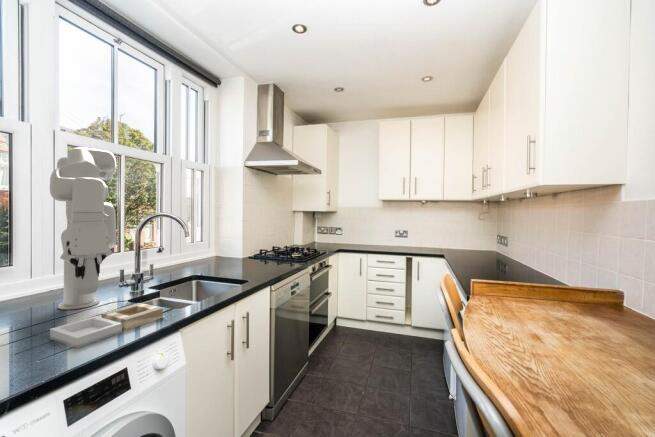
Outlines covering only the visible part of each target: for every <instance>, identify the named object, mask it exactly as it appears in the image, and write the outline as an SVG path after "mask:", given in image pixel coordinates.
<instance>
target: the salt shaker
mask: <svg viewBox="0 0 655 437" xmlns="http://www.w3.org/2000/svg"><path fill="white" fill-rule="evenodd" d="M96 257H97V254H94V253H90V254H89V255H86V256H84V260H83V266H85V275H84V278H83V279H82V277H81V276H80V277H77V280H76V284H75V289H76V290H77V292H78V294H91V293H94V292H95V293H96V292H97V291H98V289H99V286H100V279H99V277H98V274H97V270H96V264H95V259H94V258H96Z"/></svg>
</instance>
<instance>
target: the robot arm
mask: <svg viewBox="0 0 655 437" xmlns="http://www.w3.org/2000/svg"><path fill="white" fill-rule="evenodd" d="M56 167H57V168H55V169H54V170H53V171H52V172H51V175H50V177H49V178H50V179H49V192H50V193H49V194H50V196H51V197H52V198H53V199H54V200H55V201H58V202H65V217H66V220H67V226H66V228H65V229H63V231H62V232H61V235H60V241H61V247H62V251H63V252H62V254H61V255H60V257H59V258H60V260H63V294H62V298H63V301H61V302H60V303H59V304H58V305H57V308H58V309H60V310H67V311H68V310H69V311H70V310H77V309H79V310H80V309H85V308H88V307H92V306H95V305H97V304H99V303H100V298H98V297H95V294H96V292H94V293H91V294H78V292H77V290H76V289H75V284H76V280H77V277H80V276H81V277H82V279H83V278H84V275H85V266H83V260H84V256H86V255H89V254H90V253H94V254H97V257H96V258H94V259H95V264H96V270H97V274H98V278H99V277H100V276H99V275H100V273H101V264H102V263H103V261H104V260H105V259H106V258H107V257H110V256H111V255H112V254H113V251H112V249H113V248H115V246H116V245H117V239H118V238H117V219H116V218H117V217H116V216H117V215H116V209H115V206H114V205H113V204H112V203H110V202H105V201H106V199H108V197H109V192H110V191H109V187H108V185H107V184H106V182H104V181H109V180H111V179H112V178H113V175H114V173H115V171H116V168H117V160H116V157H115V155H114V154H113V153H112V152H110V151H108V150H104V149H103V150H102V149H96V148H90V147H89V148H88V147H73V148H72V149H70V150H69V151H68V152H67V156H64V157H60V158H59V159H58V160H57V163H56Z"/></svg>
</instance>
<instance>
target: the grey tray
mask: <svg viewBox="0 0 655 437" xmlns="http://www.w3.org/2000/svg"><path fill="white" fill-rule="evenodd" d="M122 333H123V330H122V323H119V322H116V321H112V320H108V319H105V318H102V316H97V315H95V316H91V317H87V318H84V319H80V320H77V321H73V322H70V323H67V324H62V325H59V326H56V327H53V328H50V329H49V339H50V340H51V341H55V342H57V343H60V344H63V345H66V346H68V347H71V348H73V349H80V348H83V347H86V346H88V345H89V346H90V344H94V343H97V342H100V341H103V340H106V339H109V338H111V337H114V336H117V335H119V334H122Z"/></svg>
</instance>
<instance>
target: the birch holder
mask: <svg viewBox="0 0 655 437" xmlns="http://www.w3.org/2000/svg"><path fill="white" fill-rule="evenodd" d="M101 318H105V319H108V320H112V321H116V322H119V323H122V331H128V330H131V329H134V328H137V327H139V326H143V325H145V324H148V323H151V322H154V321H157V320H159V319H162V318H164V308H163V307H161V306H155V305H152V304H146V303H142V302H137V303H134V304H129V305H127V306H123V307H119V308H116V309H113V310H108V311H106V312H102V313H101Z"/></svg>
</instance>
